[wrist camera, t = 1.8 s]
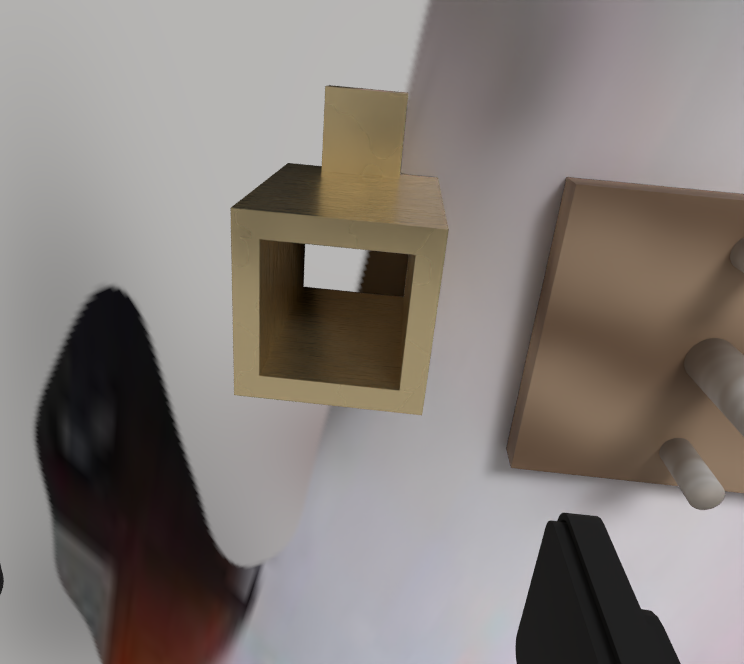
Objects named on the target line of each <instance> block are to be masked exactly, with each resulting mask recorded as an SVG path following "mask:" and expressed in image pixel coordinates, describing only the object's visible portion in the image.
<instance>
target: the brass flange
mask: <svg viewBox="0 0 744 664" xmlns="http://www.w3.org/2000/svg"><path fill="white" fill-rule="evenodd" d="M407 101H408V93H405V92H395V91H394V92H393V91H384V90H373V89H363V88H351V87H340V86H331V85H329V86H326V87H325V109H324V130H323V131H324V132H323V151H322V152H323V153H322V166H313V165H303V164H292V163H288V164H286V165H285V166H284V167H282V168H281V169H280V170H279V171H277V172H276V173H275V174H273V175H272V176H271V177H270V178H268V179H267V180H266V181H265V182H263V183H262V184H261V185H259V186H258V187H257V188H255V189H254V190H253V191H252V192H251V193H249V194H248V195H247V196H245V197H244V198H243V199H242V200H240V201H239V202H238V203H236V204H235V205H234V206H232V207H231V250H232V252H231V253H232V301H233V351H234V353H233V354H234V395H239V396H249V397H258V398H267V399H276V400H286V401H295V402H304V403H314V404H323V405H332V406H341V407H351V408H360V409H369V410H379V411H388V412H397V413H407V414H416V415H422V412H423V405H424V398H425V391H426V384H427V377H428V370H429V363H430V356H431V349H432V342H433V335H434V328H435V321H436V314H437V307H438V300H439V293H440V286H441V279H442V272H443V265H444V258H445V251H446V244H447V237H448V230H449V229H448V225H447V220H446V215H445V210H444V206H443V201H442V196H441V191H440V187H439V182H438V178H436V177H426V176H416V175H405V174H400V169H401V160H402V150H403V140H404V130H405V120H406V111H407ZM305 244H314V245H323V246H334V247H344V248H353V249H363V250H373V251H383V252H393V253H403V254H408V263H407V272H406V280H405V289H404V297H399V296H389V295H379V294H369V293H360V292H350V291H340V290H330V289H321V288H310V287H303V286H304V285H303V284H304V257H305Z"/></svg>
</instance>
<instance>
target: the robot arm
mask: <svg viewBox="0 0 744 664" xmlns="http://www.w3.org/2000/svg"><path fill="white" fill-rule="evenodd" d="M3 582H4V580H3V573H2V570H1V565H0V594H1V591H2V588H3ZM516 661H517V664H680V661H679V659H678V657H677V655H676V653H675V651H674V648H673V646H672V644H671V642H670V640H669V638H668V635H667V633H666V631H665V629H664V627H663V625H662V623H661V622H660V620H659V618H658V617H657V616H656V615H655V614H654V613H653V612H652V611H649V610H643V609H641V608H640V606H639V603H638V601H637V599H636V597H635V594H634V592H633V590H632V587H631V585H630V583H629V580H628V578H627V576H626V574H625V571H624V569H623V567H622V564H621V562H620V560H619V557H618V555H617V553H616V551H615V548H614V546H613V544H612V541H611V539H610V537H609V535H608V532H607V530H606V528H605V525H604V523H603V521H602V520H601V518H599V517H598V516H590V515H581V514H571V513H561V515H560V516H559V518H558V521H548V523H547V525H546V528H545V531H544V535H543V539H542V543H541V546H540V550H539V554H538V558H537V561H536V565H535V569H534V573H533V576H532V580H531V584H530V588H529V591H528V595H527V599H526V603H525V606H524V610H523V614H522V618H521V621H520V625H519V629H518V633H517V637H516Z"/></svg>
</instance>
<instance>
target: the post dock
mask: <svg viewBox="0 0 744 664" xmlns="http://www.w3.org/2000/svg"><path fill="white" fill-rule="evenodd" d="M506 449H507V453H508V458H509V462H510V466H511V468H517V469H526V470H535V471H544V472H554V473H563V474H572V475H581V476H590V477H599V478H609V479H618V480H627V481H636V482H645V483H654V484H664V485H673V486H679V488H680V489H681V491H682V492H683V494H684V496H685V497H686V499H687V500H688V502H689V503H690V505H691V506H692V507H694V508H696V509H699V510H707V509H711V508H714V507H716V506H718V505H719V504H720V503H721V502H722V501H723V499H724V497H725V491H728V492H737V493H744V194H736V193H726V192H716V191H705V190H695V189H685V188H674V187H664V186H654V185H643V184H633V183H623V182H612V181H602V180H592V179H581V178H571V177H567V178H566V182H565V187H564V191H563V196H562V200H561V205H560V209H559V213H558V218H557V222H556V227H555V231H554V236H553V240H552V245H551V249H550V254H549V258H548V263H547V267H546V272H545V276H544V281H543V285H542V290H541V294H540V299H539V303H538V308H537V312H536V317H535V321H534V326H533V330H532V335H531V339H530V344H529V348H528V353H527V357H526V362H525V366H524V371H523V375H522V380H521V384H520V389H519V393H518V398H517V402H516V407H515V411H514V416H513V420H512V425H511V429H510V434H509V438H508V443H507V447H506Z"/></svg>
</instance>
